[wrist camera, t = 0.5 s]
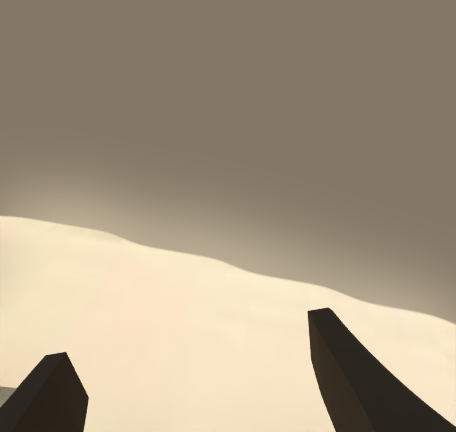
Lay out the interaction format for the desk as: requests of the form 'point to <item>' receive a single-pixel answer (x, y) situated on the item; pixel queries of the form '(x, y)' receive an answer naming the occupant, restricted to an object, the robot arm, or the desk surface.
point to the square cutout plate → (5, 394)
